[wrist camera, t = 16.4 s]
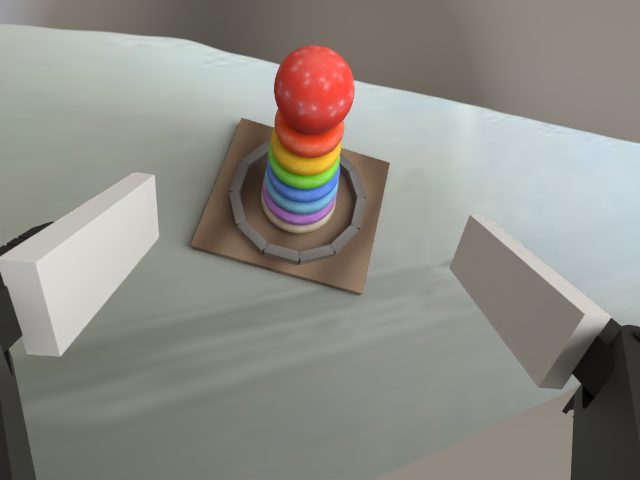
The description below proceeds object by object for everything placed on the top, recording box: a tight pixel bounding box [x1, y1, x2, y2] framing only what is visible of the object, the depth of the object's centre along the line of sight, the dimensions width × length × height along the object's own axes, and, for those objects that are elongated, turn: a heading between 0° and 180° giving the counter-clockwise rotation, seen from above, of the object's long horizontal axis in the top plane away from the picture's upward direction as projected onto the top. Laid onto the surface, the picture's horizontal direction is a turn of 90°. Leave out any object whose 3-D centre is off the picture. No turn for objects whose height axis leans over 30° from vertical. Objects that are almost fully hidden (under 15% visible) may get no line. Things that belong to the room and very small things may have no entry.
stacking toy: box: [261, 45, 354, 234], centre depth 28 cm, size 8×8×19 cm
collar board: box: [191, 118, 390, 295], centre depth 36 cm, size 18×16×3 cm
